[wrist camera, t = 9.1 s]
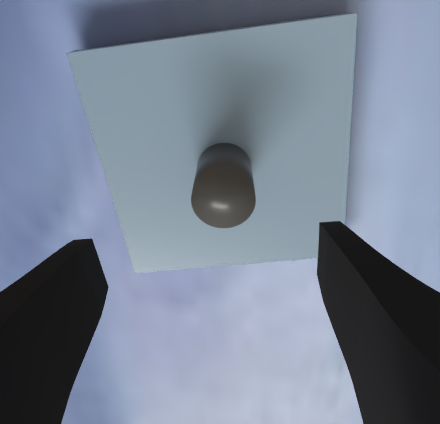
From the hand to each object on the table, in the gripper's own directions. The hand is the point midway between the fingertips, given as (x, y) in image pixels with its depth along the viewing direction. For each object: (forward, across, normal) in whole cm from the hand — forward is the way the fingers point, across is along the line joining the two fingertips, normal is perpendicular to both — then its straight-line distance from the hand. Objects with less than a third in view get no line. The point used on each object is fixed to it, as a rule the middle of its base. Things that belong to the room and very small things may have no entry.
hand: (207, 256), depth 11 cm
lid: (+9, 0, 0) cm, 9 cm away
